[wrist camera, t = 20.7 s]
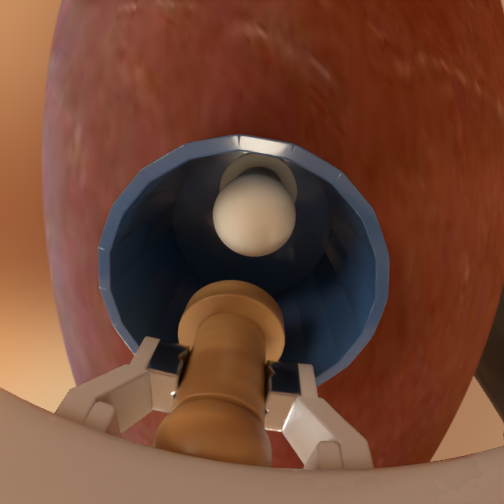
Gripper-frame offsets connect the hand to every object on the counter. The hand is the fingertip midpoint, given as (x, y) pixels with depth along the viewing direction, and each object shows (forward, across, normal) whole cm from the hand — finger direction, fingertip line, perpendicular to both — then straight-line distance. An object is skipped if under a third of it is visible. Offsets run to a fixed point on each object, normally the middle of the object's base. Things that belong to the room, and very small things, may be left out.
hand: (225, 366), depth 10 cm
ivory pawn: (+9, 0, -4) cm, 10 cm away
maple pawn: (+3, 0, 0) cm, 3 cm away
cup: (+10, 0, -2) cm, 10 cm away
